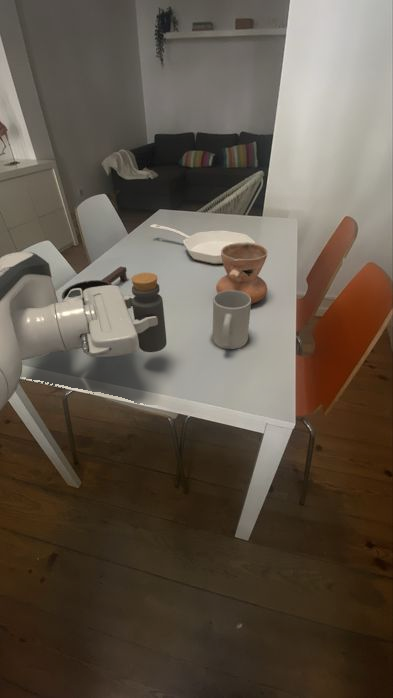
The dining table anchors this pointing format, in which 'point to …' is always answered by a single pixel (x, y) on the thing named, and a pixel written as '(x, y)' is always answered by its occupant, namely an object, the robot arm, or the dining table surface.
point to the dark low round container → (85, 286)
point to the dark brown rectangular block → (116, 275)
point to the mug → (231, 319)
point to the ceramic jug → (243, 270)
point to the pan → (209, 243)
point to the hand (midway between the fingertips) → (152, 309)
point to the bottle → (149, 311)
